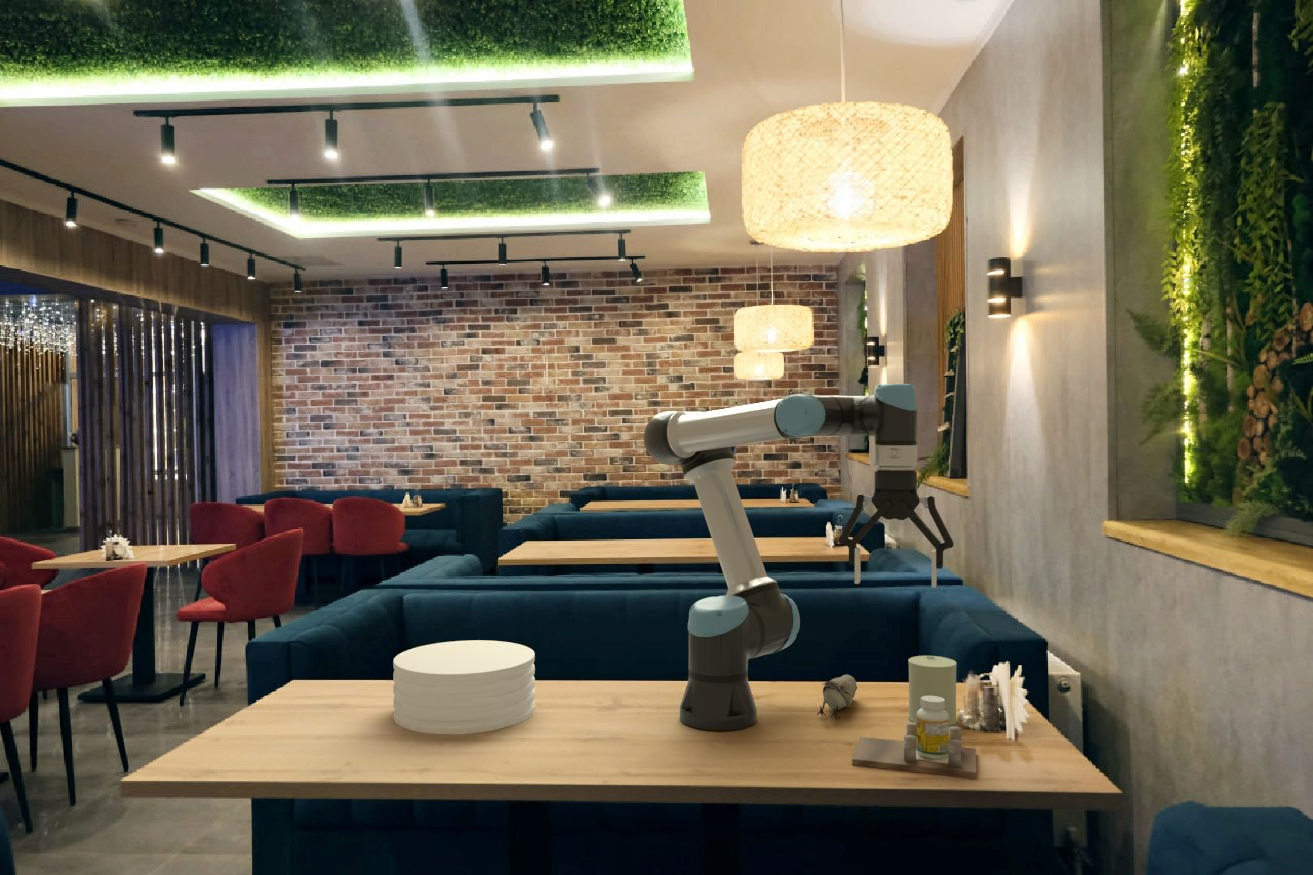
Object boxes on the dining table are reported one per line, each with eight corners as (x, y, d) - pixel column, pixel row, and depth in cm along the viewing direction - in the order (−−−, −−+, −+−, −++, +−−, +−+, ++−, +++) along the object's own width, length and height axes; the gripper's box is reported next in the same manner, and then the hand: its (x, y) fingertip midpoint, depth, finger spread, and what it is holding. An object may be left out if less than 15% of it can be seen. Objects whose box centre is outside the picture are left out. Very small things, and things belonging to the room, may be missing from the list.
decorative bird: (863, 701, 197) (863, 666, 197) (840, 723, 183) (840, 684, 183) (838, 698, 199) (838, 662, 199) (813, 719, 185) (813, 681, 185)
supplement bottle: (949, 761, 158) (949, 704, 158) (916, 758, 159) (916, 701, 159) (948, 750, 163) (948, 695, 163) (917, 747, 164) (917, 693, 164)
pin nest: (852, 764, 160) (852, 735, 159) (859, 742, 171) (859, 714, 171) (976, 778, 153) (976, 748, 153) (975, 754, 165) (975, 725, 164)
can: (951, 713, 188) (951, 653, 188) (961, 727, 179) (961, 665, 179) (904, 711, 189) (904, 652, 189) (912, 726, 180) (912, 664, 180)
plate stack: (472, 744, 171) (471, 681, 171) (363, 720, 185) (362, 662, 185) (562, 704, 195) (561, 649, 195) (459, 686, 209) (459, 635, 209)
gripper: (823, 468, 172) (823, 584, 172) (967, 470, 164) (967, 591, 164) (829, 466, 179) (829, 577, 179) (967, 468, 171) (967, 584, 171)
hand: (895, 584), depth 171 cm, fingers open, 13 cm apart
